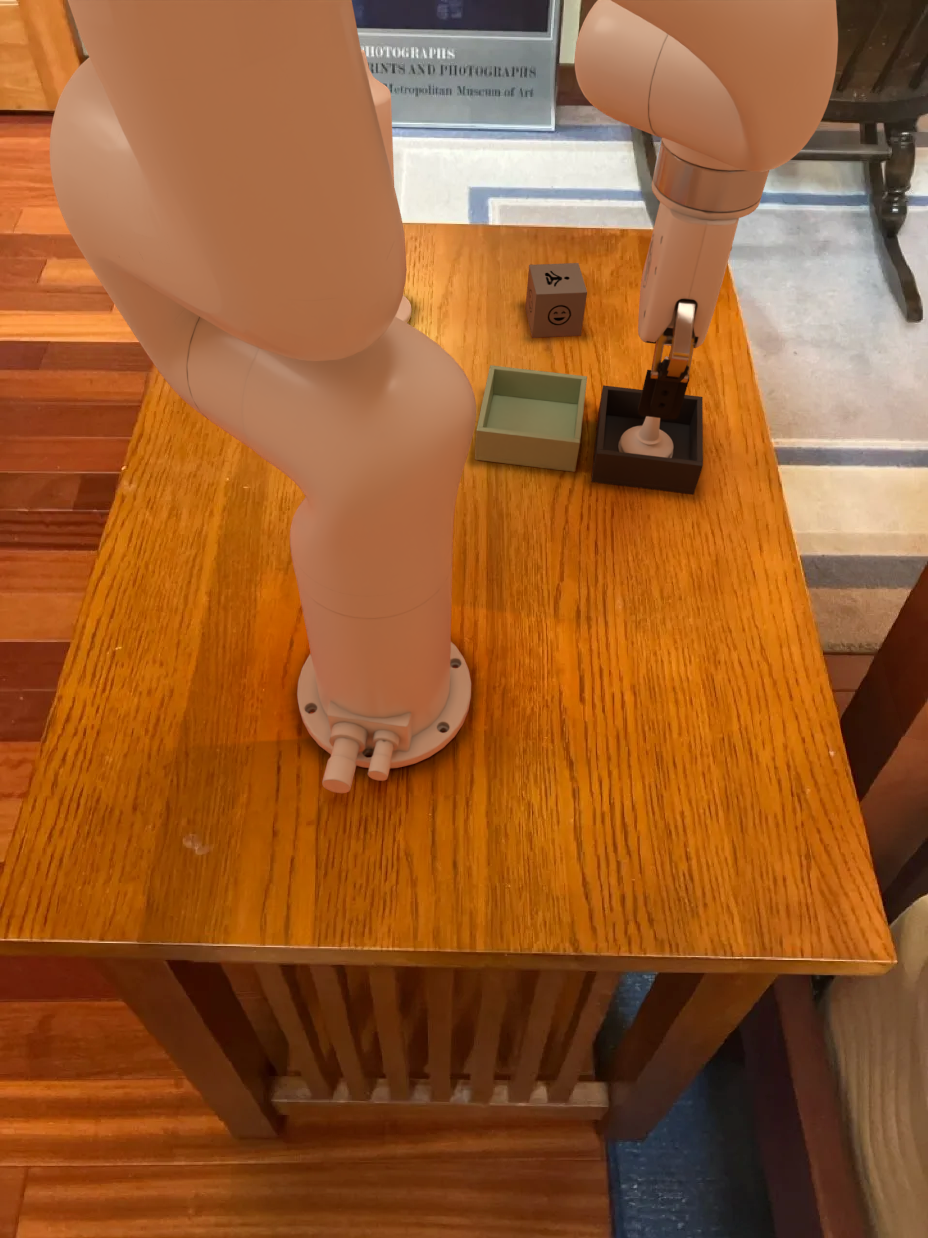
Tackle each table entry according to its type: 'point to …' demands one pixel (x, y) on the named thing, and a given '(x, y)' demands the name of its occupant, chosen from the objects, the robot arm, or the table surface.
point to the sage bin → (531, 418)
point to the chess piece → (647, 439)
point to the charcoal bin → (644, 469)
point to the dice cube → (555, 300)
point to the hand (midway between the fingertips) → (658, 377)
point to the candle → (386, 148)
